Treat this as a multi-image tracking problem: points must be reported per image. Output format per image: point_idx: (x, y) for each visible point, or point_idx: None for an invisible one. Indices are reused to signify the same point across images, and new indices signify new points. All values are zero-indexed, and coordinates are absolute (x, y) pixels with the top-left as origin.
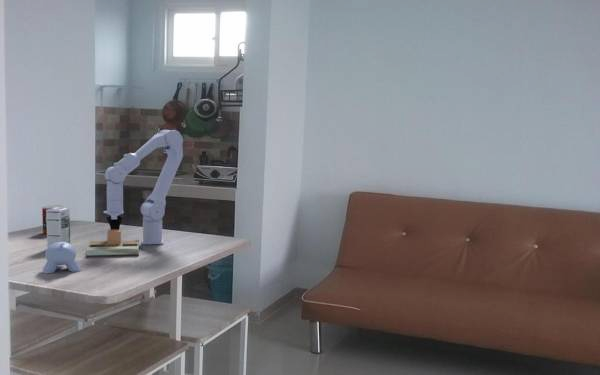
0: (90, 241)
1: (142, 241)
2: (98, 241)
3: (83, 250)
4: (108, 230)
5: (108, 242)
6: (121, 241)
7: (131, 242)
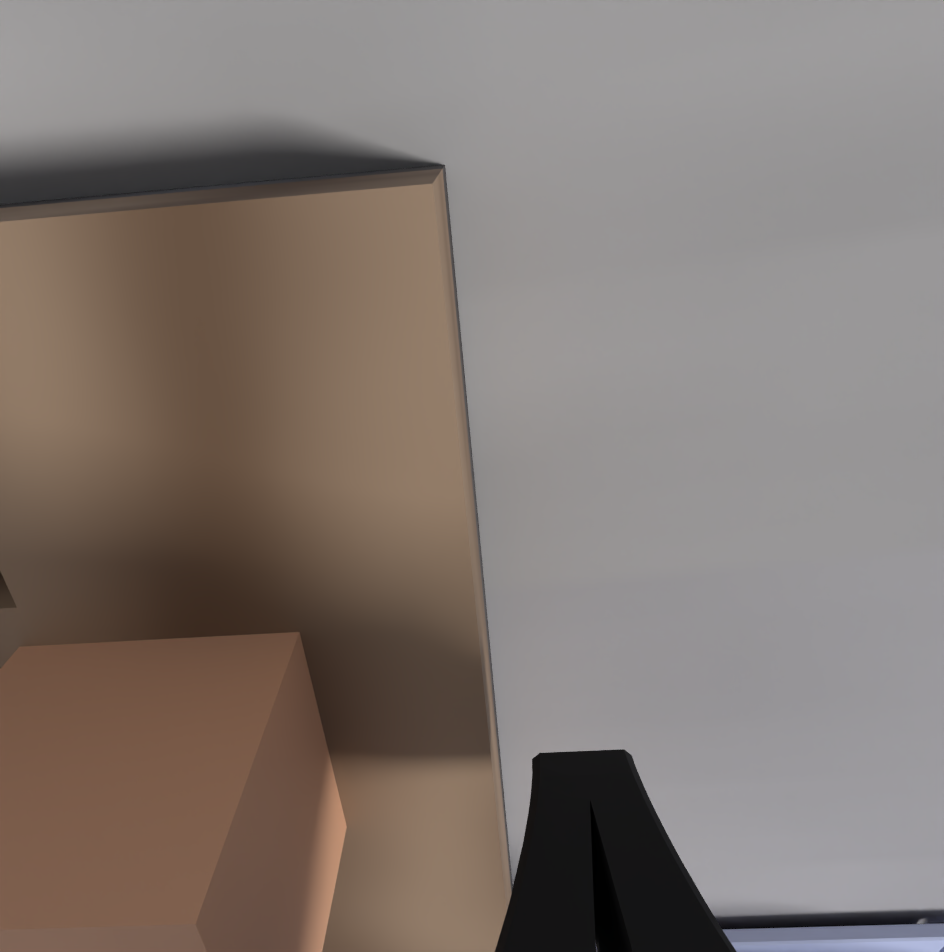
0: (324, 196)
1: (772, 950)
2: (338, 422)
3: (87, 28)
4: (32, 942)
5: (2, 693)
6: (360, 830)
7: None
